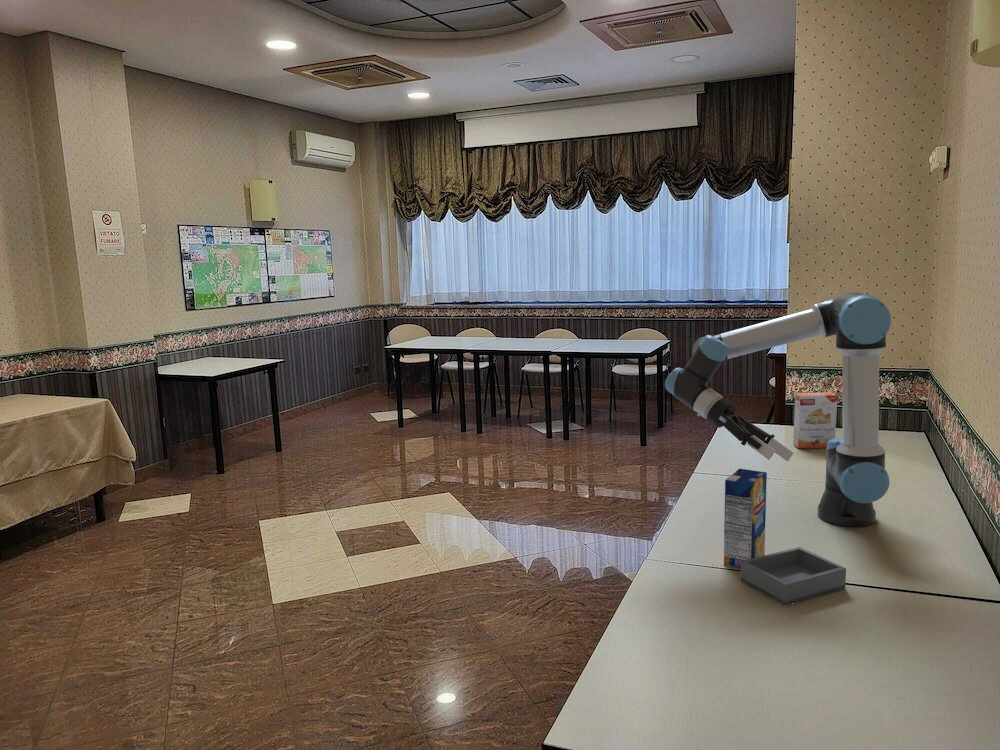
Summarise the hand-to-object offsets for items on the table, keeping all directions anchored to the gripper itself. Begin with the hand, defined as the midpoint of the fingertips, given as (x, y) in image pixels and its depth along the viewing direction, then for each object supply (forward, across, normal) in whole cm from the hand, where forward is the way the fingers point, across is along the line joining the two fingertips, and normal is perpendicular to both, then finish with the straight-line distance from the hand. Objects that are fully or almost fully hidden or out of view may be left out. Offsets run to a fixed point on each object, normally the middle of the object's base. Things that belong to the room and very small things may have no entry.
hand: (781, 456), depth 186 cm
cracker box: (-23, -109, -9) cm, 112 cm away
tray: (+21, +8, -22) cm, 31 cm away
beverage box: (+8, +1, -27) cm, 28 cm away
